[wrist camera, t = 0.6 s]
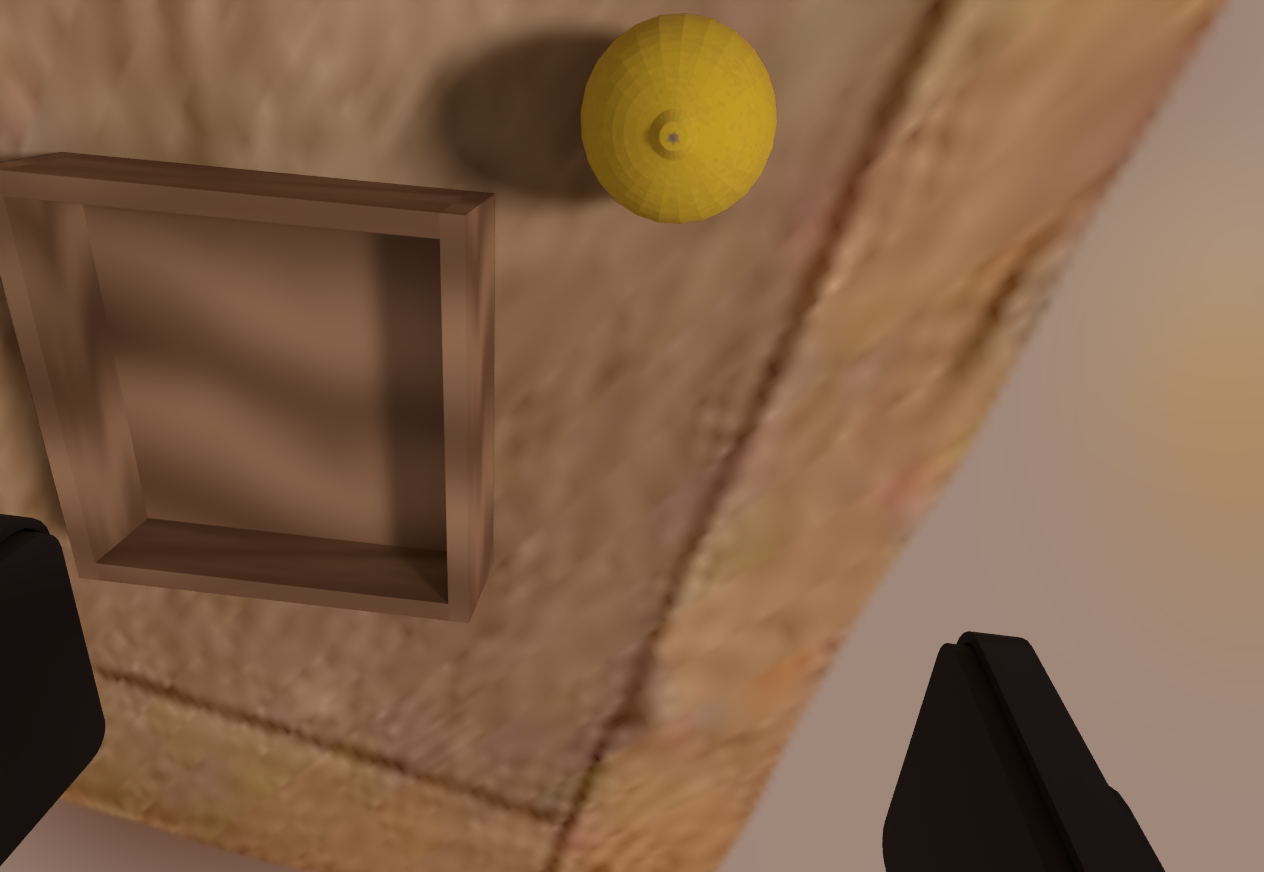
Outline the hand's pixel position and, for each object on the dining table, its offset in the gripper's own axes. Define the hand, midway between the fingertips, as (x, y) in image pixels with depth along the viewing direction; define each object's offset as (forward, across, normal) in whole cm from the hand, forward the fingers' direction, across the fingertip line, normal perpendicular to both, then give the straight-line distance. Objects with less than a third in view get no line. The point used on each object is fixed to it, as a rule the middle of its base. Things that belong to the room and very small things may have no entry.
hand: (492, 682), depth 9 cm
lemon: (+22, -1, -4) cm, 23 cm away
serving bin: (+22, +13, +7) cm, 27 cm away
